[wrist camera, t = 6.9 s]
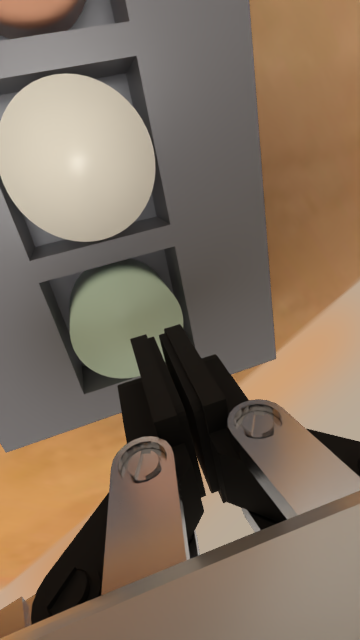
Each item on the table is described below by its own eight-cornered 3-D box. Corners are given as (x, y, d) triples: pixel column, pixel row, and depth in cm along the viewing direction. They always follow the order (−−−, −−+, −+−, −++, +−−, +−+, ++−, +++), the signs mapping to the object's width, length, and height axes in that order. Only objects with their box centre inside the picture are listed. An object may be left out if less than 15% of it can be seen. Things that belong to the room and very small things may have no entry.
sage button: (155, 245, 17) (171, 261, 14) (174, 331, 19) (191, 358, 16) (54, 272, 16) (51, 294, 13) (87, 359, 18) (90, 392, 15)
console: (175, -223, 12) (220, -384, 8) (242, 327, 22) (276, 358, 18) (-304, -211, 10) (-520, -427, 6) (17, 400, 20) (5, 452, 16)
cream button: (122, 81, 13) (135, 60, 10) (151, 212, 15) (168, 222, 12) (-12, 105, 12) (-35, 89, 9) (39, 240, 14) (32, 257, 12)
